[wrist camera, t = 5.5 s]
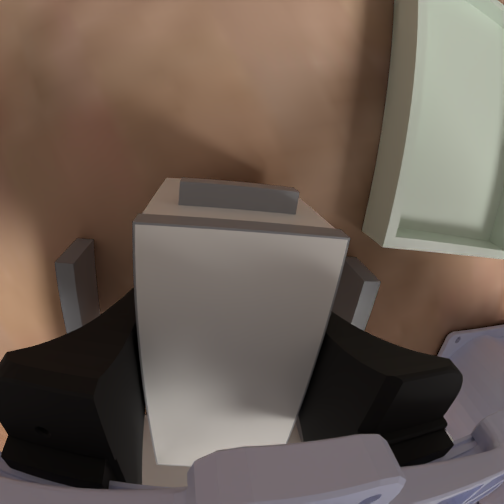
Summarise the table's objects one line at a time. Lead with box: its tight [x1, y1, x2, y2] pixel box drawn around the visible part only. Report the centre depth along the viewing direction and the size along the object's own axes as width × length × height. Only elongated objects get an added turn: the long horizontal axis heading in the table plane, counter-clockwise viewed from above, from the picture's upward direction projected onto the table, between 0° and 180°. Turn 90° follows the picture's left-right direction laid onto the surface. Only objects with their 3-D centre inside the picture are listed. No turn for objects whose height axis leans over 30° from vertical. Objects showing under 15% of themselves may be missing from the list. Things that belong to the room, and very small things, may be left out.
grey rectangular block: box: [133, 177, 350, 466], centre depth 11 cm, size 5×10×6 cm, turn 173°
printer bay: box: [55, 238, 381, 487], centre depth 14 cm, size 13×16×6 cm
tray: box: [362, 0, 504, 259], centre depth 11 cm, size 10×14×2 cm
